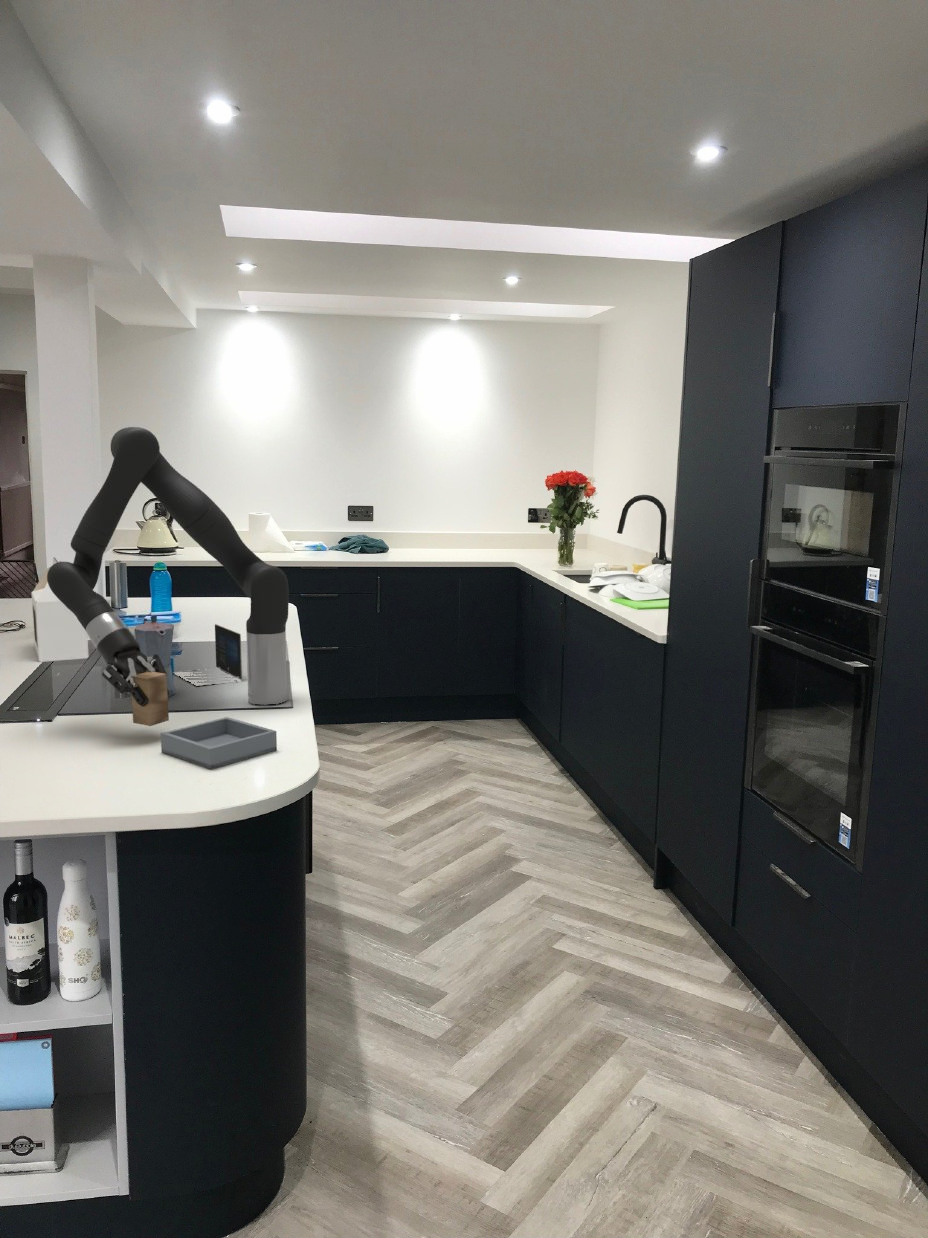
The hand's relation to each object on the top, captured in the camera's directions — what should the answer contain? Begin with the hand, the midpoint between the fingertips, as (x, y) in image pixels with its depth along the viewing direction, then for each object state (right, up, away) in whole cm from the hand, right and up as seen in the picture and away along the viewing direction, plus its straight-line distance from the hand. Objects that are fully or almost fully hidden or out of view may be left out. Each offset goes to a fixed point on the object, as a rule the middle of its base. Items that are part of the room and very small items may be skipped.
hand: (156, 700), depth 196 cm
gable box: (-56, +6, +86) cm, 103 cm away
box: (+15, -10, -6) cm, 19 cm away
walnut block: (-2, -5, +2) cm, 5 cm away
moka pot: (-13, -2, +39) cm, 41 cm away
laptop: (-5, +1, +57) cm, 57 cm away
